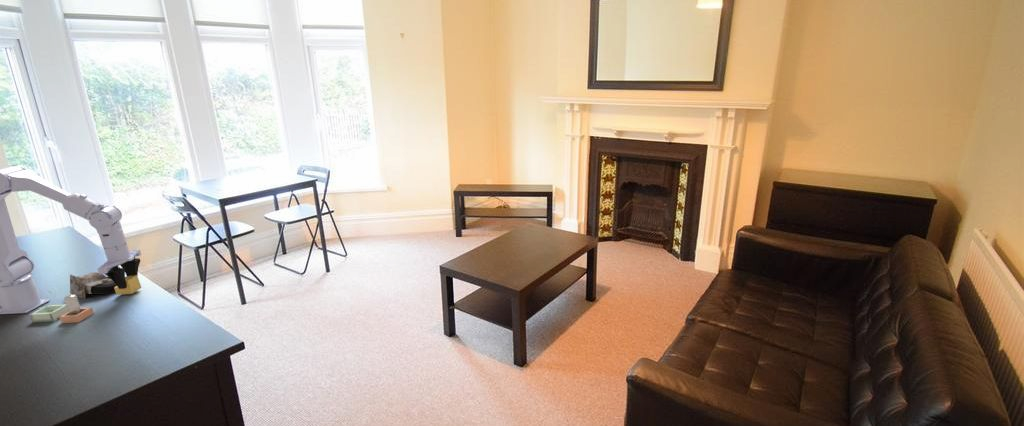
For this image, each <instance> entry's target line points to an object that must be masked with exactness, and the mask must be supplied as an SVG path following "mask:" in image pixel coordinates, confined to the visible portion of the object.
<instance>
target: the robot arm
mask: <svg viewBox="0 0 1024 426" xmlns="http://www.w3.org/2000/svg"><path fill="white" fill-rule="evenodd" d="M29 191H30V192H33V193H35V194H38V195H40V196H42V197H44V198H45V197H46V198H47V199H49V200H53V201H54V202H56V203H57V202H58V203H59V204H61V205H62V207H63V209H64V210H65V211H67V212H69V213H71V214H73V215H75V216H78V217H80V218H83V219H84V220H86V221H88V222H89V223H88V224H89V225H90V226H92V227H93V228H94V229H95V230H96V232H97V234H98V236H99V240H100V242H101V245H102V247H103V251H104V254H105V257H106V261H105V262H104V263H103V264H102V265H101V266H99V267H97V268H96V269H97V271H98V272H97V273H99V274H103V275H105V276H106V277H109V278H110V279H112V280H113V282H114V283H115V284H116V285H117V287H118V288H119V289H125V288H127V284H126V280H125V277H126V276H134V275H137V276H138V275H139V267H140V263H141V258H140V256H142V253H141V249H132V250H130V249H129V246H128V242H127V239H126V236H125V233H124V231H123V227H122V224H121V220H122V217H123V214H122V211H121V210H120V209H119V208H117V207H116V206H115V205H112V204H111V205H110V204H107V205H105V204H104V203H103V202H101V203H100V202H97V201H95V200H93V199H91V198H89V197H88V195H87V194H85V193H79V192H77V193H70V192H68V191H66V190H64V189H63V188H60V187H59V186H56V185H55V184H54V183H53V184H52V183H51V182H49V181H47V180H46V179H44V178H42V177H40V176H39V175H37V174H36V173H35V172H34V171H33V170H32V169H27V168H26V167H25V166H22V165H20V164H10V165H8V166H5V167H2V168H0V315H9V314H11V315H12V314H13V315H14V314H27V313H30V312H31V311H32V310H35V309H37V308H38V307H40V306H43V305H44V304H46V303H48V302H50V301H51V299H49V298H44V299H42V298H41V296H40V294H39V291H38V288H37V286H36V283H35V281H34V279H33V273H32V272H33V270H34V269H35V263H34V262H33V260H32V259H31V258H30V257H29V254H28V252H27V251H26V250H23V249H21V248H19V244H18V241H17V237H16V233H15V231H14V226H13V224H12V221H11V217H10V213H9V210H8V207H7V203H6V198H7V197H8V196H9V195H10V194H11V193H14V192H15V193H17V192H29ZM136 257H139V258H136ZM120 266H121V267H120ZM138 277H139V276H138Z"/></svg>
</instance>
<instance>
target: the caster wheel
mask: <svg viewBox="0 0 1024 426" xmlns="http://www.w3.org/2000/svg"><path fill="white" fill-rule="evenodd" d="M116 286H117V285H116V284H115V283H114V282H113V280H112V279H110V278H109V277H108V276H107V275H105V274H99V272H89V273H86V274H82V275H78V276H77V275H72V274H69V293H70V294H69V295H73V294H75V295H76V296H77V298H79V299H82V300H86V295H87V294H89V295H90V294H91V295H106V294H107V295H108V294H114V293H116V292H115V289H114V287H116Z"/></svg>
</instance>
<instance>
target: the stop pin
mask: <svg viewBox="0 0 1024 426" xmlns="http://www.w3.org/2000/svg"><path fill="white" fill-rule="evenodd" d="M63 300H64V302H65V304H66V305H67V308H68V310H69V313H70V315H77V314H79V313H81V312H82V310H81V308H82V307H81V305H80V301H79V299H78V297H77V296H76V295H75V294H73V295H72V294H69V295H66V296H65V297H63Z"/></svg>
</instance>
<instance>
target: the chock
mask: <svg viewBox="0 0 1024 426" xmlns="http://www.w3.org/2000/svg"><path fill="white" fill-rule="evenodd" d="M125 280H126V284H127V288H125V289H119V288H118V287H117V286H116V287H114V289H115V292H114V293H115V295H116V296H117V295H118V296H119V295H133V294H134V293H137V291H140V289H142V286H141V283H140V280H139V276H137V275H134V276H127V275H125Z"/></svg>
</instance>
